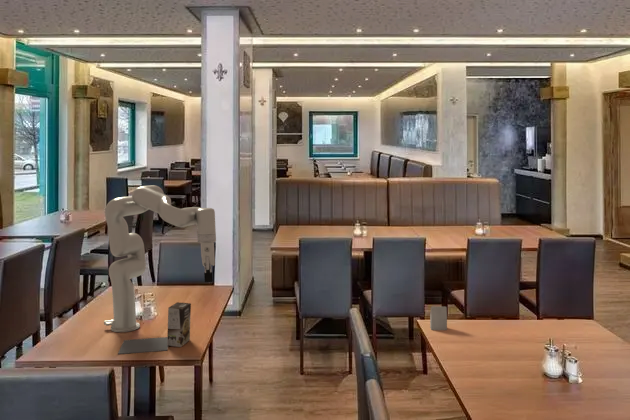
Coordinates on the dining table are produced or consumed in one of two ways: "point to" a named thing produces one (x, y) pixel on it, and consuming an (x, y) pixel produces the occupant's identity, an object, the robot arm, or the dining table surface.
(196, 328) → the dining table surface
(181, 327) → the coffee box
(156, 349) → the mat
